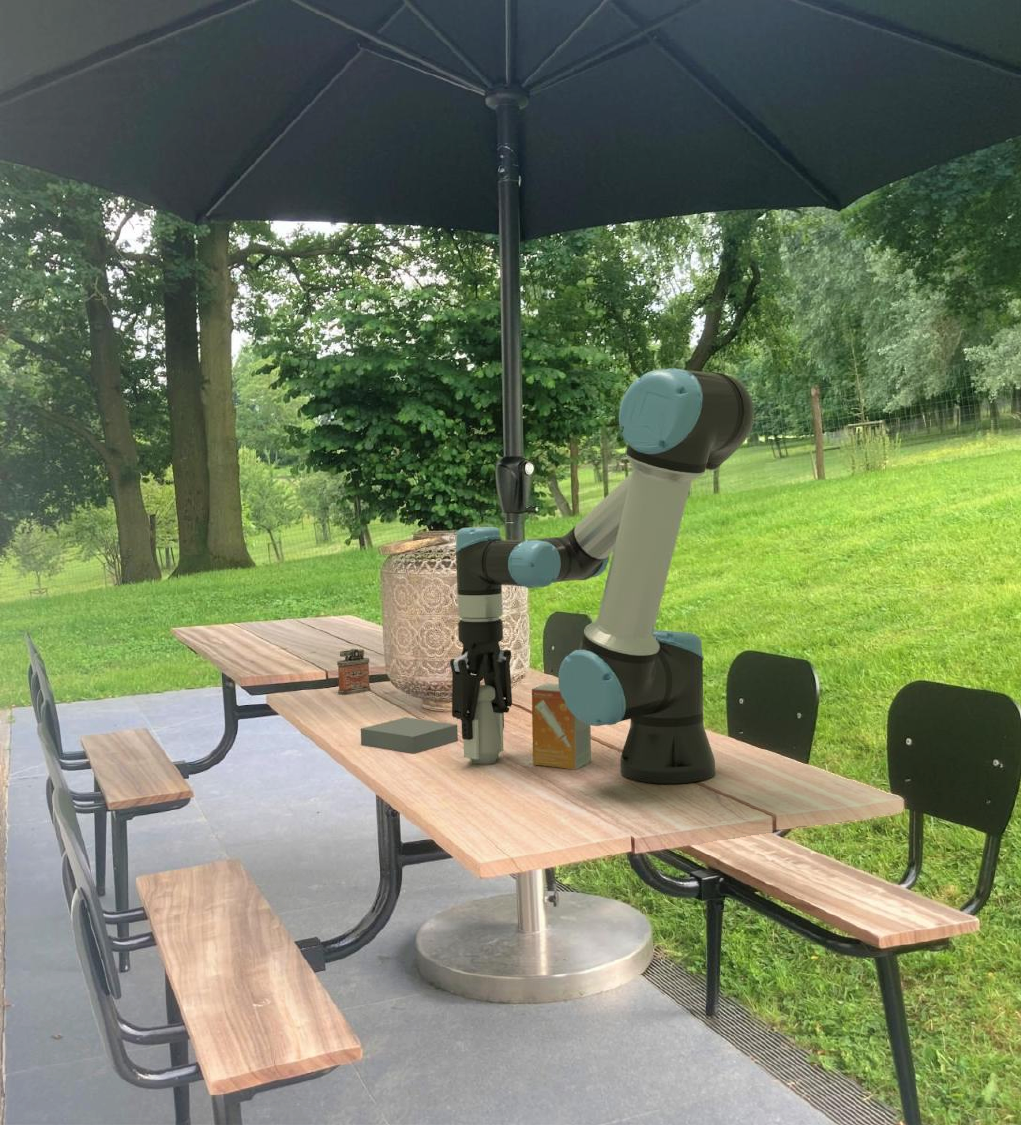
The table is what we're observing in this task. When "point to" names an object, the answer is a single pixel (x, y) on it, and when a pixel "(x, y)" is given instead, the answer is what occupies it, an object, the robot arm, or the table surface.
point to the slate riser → (409, 735)
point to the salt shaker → (486, 727)
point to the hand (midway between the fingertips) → (483, 753)
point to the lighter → (353, 672)
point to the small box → (557, 731)
